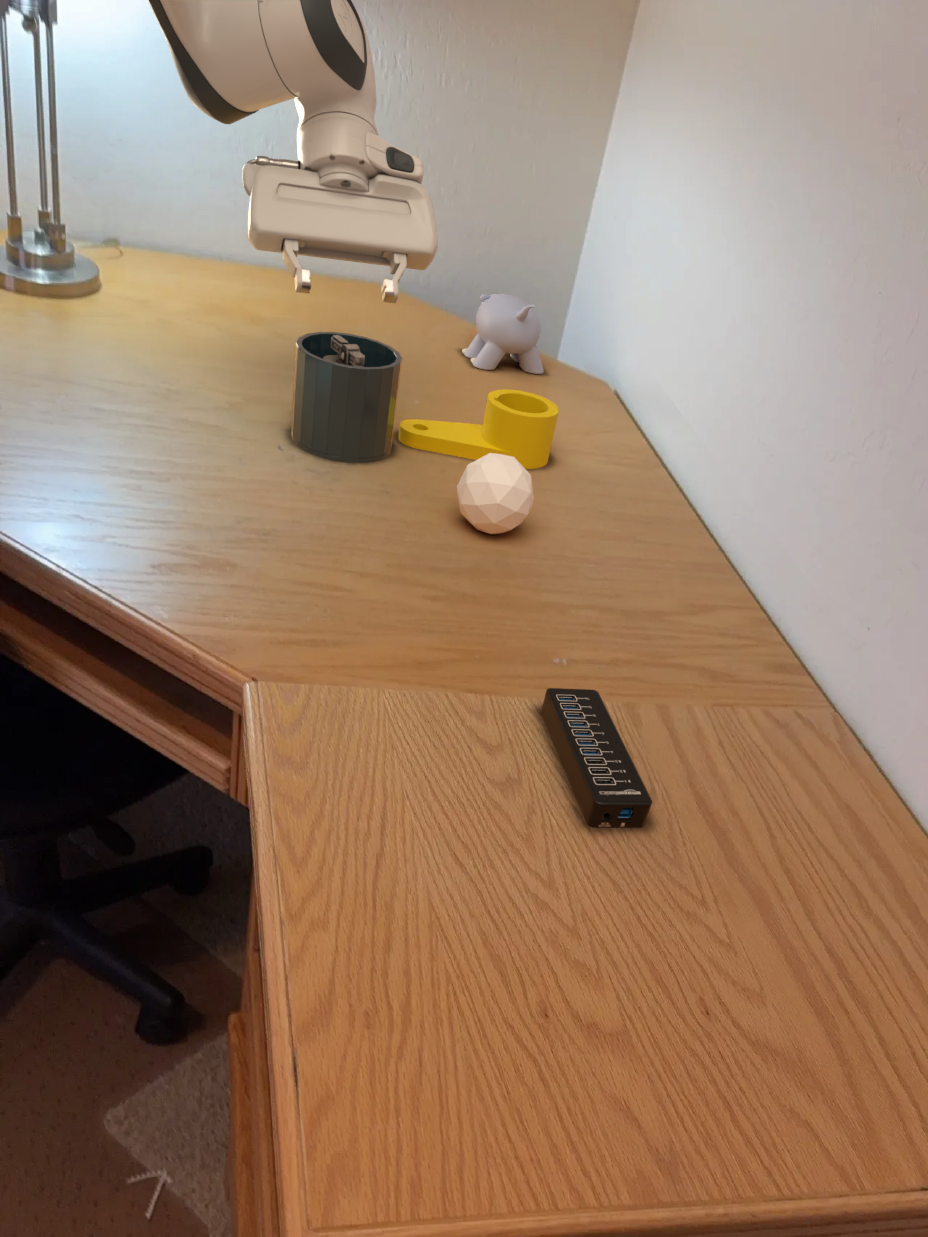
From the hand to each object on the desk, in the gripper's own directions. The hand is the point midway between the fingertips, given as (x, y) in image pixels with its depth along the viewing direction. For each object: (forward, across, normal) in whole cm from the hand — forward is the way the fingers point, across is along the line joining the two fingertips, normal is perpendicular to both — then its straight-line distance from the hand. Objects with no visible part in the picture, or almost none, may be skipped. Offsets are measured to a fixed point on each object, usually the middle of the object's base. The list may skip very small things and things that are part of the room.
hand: (347, 294), depth 113 cm
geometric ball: (+28, +12, -7) cm, 31 cm away
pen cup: (+13, 0, +7) cm, 15 cm away
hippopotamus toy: (-11, +29, +32) cm, 44 cm away
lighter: (+13, 0, +6) cm, 14 cm away
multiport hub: (+56, +9, -36) cm, 67 cm away
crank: (+13, +16, +8) cm, 22 cm away
